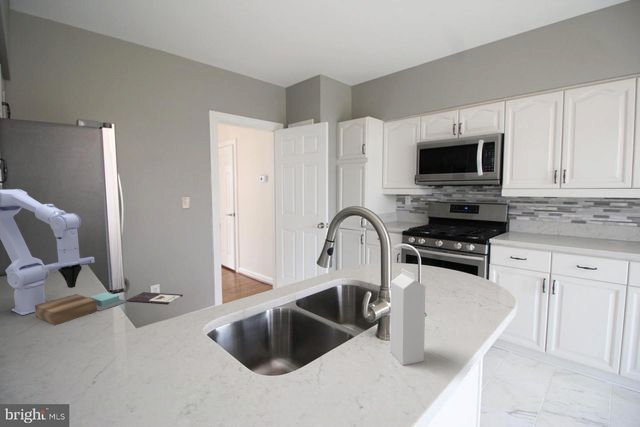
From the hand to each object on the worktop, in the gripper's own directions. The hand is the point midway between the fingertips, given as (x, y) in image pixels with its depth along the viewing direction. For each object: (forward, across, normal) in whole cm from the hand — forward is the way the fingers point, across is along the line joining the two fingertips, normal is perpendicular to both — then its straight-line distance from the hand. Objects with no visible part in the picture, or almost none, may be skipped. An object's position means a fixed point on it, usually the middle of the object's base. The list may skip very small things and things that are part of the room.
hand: (71, 287), depth 106 cm
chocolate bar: (+10, +21, -14) cm, 27 cm away
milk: (+8, +25, -110) cm, 113 cm away
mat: (+9, +9, 0) cm, 13 cm away
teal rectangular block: (+7, +10, 0) cm, 12 cm away
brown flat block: (+9, -2, 0) cm, 9 cm away
